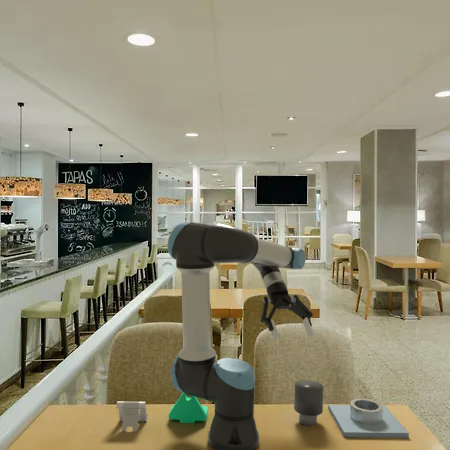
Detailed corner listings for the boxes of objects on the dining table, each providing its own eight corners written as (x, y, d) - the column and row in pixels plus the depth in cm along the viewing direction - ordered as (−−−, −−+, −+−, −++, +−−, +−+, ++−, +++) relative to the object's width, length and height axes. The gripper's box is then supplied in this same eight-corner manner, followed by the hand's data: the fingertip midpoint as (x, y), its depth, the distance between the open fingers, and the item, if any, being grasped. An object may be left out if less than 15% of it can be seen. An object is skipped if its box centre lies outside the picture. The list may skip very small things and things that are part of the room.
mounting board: (343, 436, 141) (344, 432, 141) (328, 408, 161) (328, 404, 161) (408, 437, 142) (408, 433, 142) (384, 409, 162) (384, 405, 162)
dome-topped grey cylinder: (288, 421, 151) (289, 385, 151) (304, 412, 158) (305, 378, 157) (312, 431, 145) (313, 393, 144) (327, 421, 151) (328, 385, 151)
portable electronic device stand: (147, 420, 150) (147, 394, 149) (143, 431, 142) (143, 405, 141) (120, 419, 149) (121, 394, 149) (115, 431, 142) (115, 404, 141)
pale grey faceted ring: (344, 417, 151) (344, 404, 151) (359, 408, 159) (359, 396, 158) (373, 428, 144) (373, 414, 144) (387, 418, 152) (387, 405, 151)
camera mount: (208, 413, 155) (208, 383, 155) (205, 424, 148) (206, 392, 147) (172, 412, 156) (173, 382, 156) (168, 422, 149) (169, 391, 148)
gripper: (300, 290, 181) (320, 339, 167) (242, 294, 172) (258, 345, 158) (308, 279, 176) (329, 328, 162) (248, 282, 167) (265, 334, 153)
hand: (294, 337), depth 160 cm, fingers open, 13 cm apart
